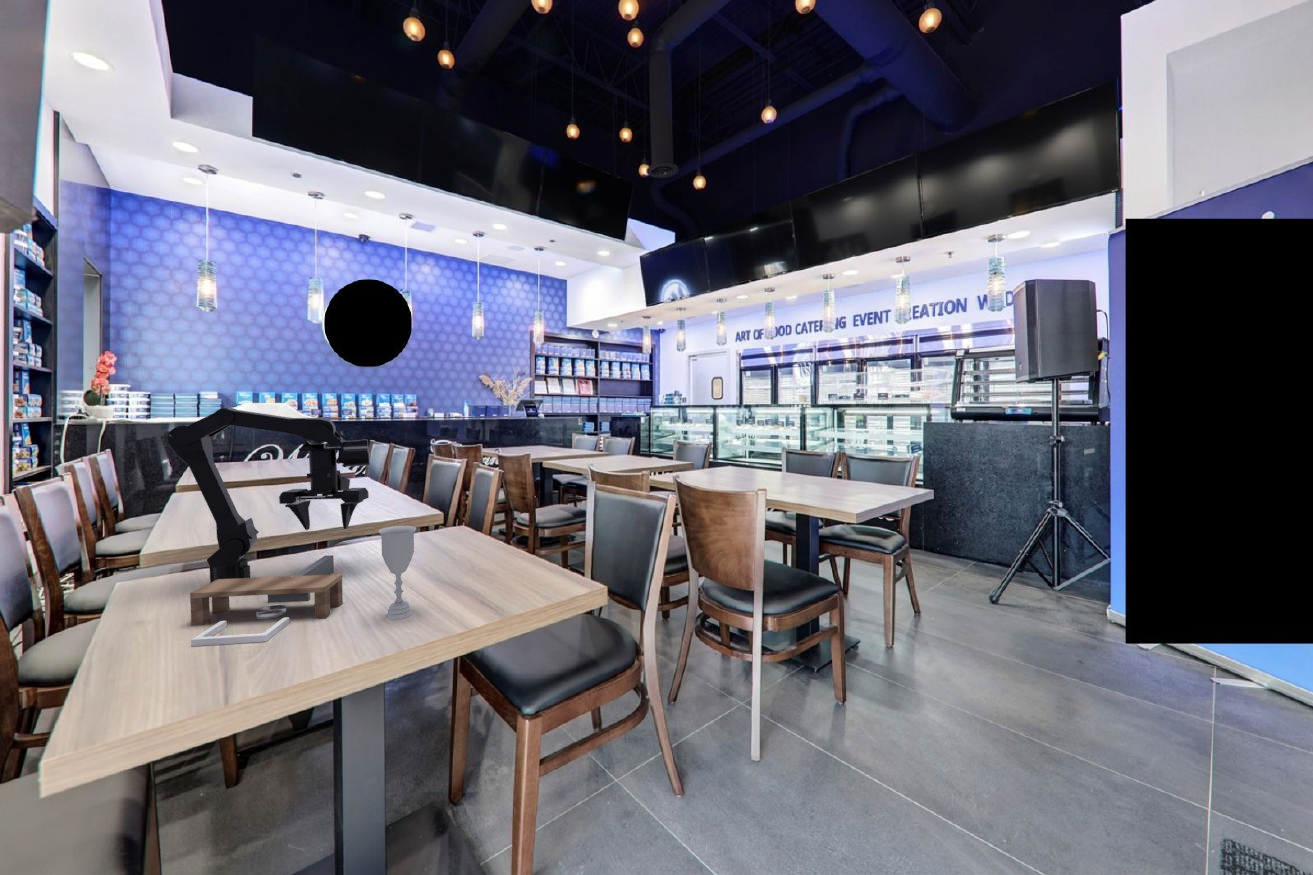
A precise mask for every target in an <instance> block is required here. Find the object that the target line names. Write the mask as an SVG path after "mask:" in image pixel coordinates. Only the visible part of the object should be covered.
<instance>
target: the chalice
mask: <svg viewBox="0 0 1313 875" xmlns="http://www.w3.org/2000/svg"><path fill="white" fill-rule="evenodd" d="M416 531H417V527H416V526H411V525H395V526H387V527H383V528H380V529H379V530H378V534H379V535H380V538H381V557H382V559H383V561H384V564H385V565H386V568H388V570H389V572H390V573H391V574H392V575H395V581H394V585H395V588H396V589H395V591H393V593H394V594H395V597H396V598H395V600H394V602H393V603H391V604H390V606H388V607H389V608H388V609H387V613H386V614H385V618H386V619H387V620H400V619H404V618H407V617H408V618H409V616H411V615H412V614H413V610H412V609H411V606H410V604H409V603H408V601H406V600H403V598H402V594H403V593H404V590H403V588H402V586H403V585H402V584H404V582H403V580H402V574H403V573H405V572H406V571H407V570H408V568H409V566H410V564H411V561H412V558H413V557H414V554H415V553H414V552H415V537H414V536H415V535H414V534H415V532H416Z"/></svg>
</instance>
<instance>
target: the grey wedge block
mask: <svg viewBox="0 0 1313 875" xmlns="http://www.w3.org/2000/svg"><path fill="white" fill-rule="evenodd" d="M334 562H335V561H334V555H331V554H330V555H329V554H328V555H323V556H322V557H320V558H319V559H317V560H315V561H314V562H313V563H311V564H309V565H307V566H306V567H305V568H303V569H302V570H300V571H298V572H297V573H295V574H294V575H293V576H311V575H333V573H334V572H335V571H334V570H335V569H334V568H335V567H334V566H335V564H334ZM310 600H311V593H293V594H271V595H267V603H268V604H271V603H274V604H275V603H288V602H289V603H291V602H292V603H293V602H294V603H295V602H309V601H310Z"/></svg>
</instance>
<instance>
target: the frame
mask: <svg viewBox="0 0 1313 875" xmlns="http://www.w3.org/2000/svg"><path fill="white" fill-rule="evenodd" d="M289 624H290V617H288V616H287V617H286V616H285V617H283V618H281V619H280V620H278V621H277V622H276V623H274V624H273V625H272V626H270V627H269V628H267V630H265V631H264V632H262V633H247V634H246V633H245V634H244V633H243V634H230V635H229V634H228V635H216V634H218V633H220V632H221V631H223V630H225V628H227V627H228V622H227V620H220V621H219V622H217V623H215V624H214V625H212V626H210V627H209V628H207V629H205V630H204V631H203V632H201V633H200V634H198V635H197V636H195V637H193V638H192V639H191V640H190V642H191V643H190V645H191V647H200V646H202V647H203V646H216V645H217V646H219V645H232V644H234V645H236V644H237V645H238V644H249V643H266V642H268V641H269V640H270V639H271V638H272V637H274V636H275V635H277V634H278V633H279V632H280V631H282V630H283V629H284V628H285V627H286V626H288V625H289Z"/></svg>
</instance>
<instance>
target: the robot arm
mask: <svg viewBox="0 0 1313 875" xmlns="http://www.w3.org/2000/svg"><path fill="white" fill-rule="evenodd" d="M230 426H236V427H243V428H250V429H256V430H257V429H258V430H263V431H264V430H266V431H272V432H277V433H278V432H280V433H288V434H291V435H294V436H297V437H299V438H303V439H306V441H305V442H304V444H303V445H302V446H301V447H299V448H298V451H299V452H308V461H309V462H308V464H309V472H308V473H306V478H307V479H309V480H310V484H309V485H310V489H308V488H292V489H288V490H285V491H282V492H281V493H280V495H279V497H278V502H279V504H280V505H281V504H282V505H284V507H285V508H288V509H290V511H291V512H292V513H293V514H294V515H295V516H296V518H297V519H298V521H299V522H300V523H301V525H302V527H303V529H305V531H308V530H310V529H311V528H310V527H311V526H310V525H311V521H310V511H309V510H310V504H311V500H339V499H340V500H342V502H343V503H342V502H341V503H340V512H341V521H342V522H341V523H342V526H343V529H344V530H346V529H348V528H349V525H350V522H351V520H352V517H353V513H354V510H355V509H356V508H357V506H358V504H360V503H362V502H364V500H366V499H369V498H370V497H369V491H368V489H367V488H366V487H350V486H351V485H350V484H351V479H350V478H347V477H344V476H342V475H341V471H340V470H339V469H338V466H337V450H338V463H339V464H341V465H344V467H345V468H346V467H347V468H349V467H364V466H365V467H366V466H371V455H370V454H371V452H370V450H369V440H368V439H358V440H345V439H344V438H343V437H342V436H341V435H340V434H339V433H338V432H337V430H336V428H337V427H336V425H335V423H334V422H333V421H332V420H331V419H329V418H326V417H290V416H289V417H288V416H281V415H275V414H269V413H268V414H267V413H261V412H255V411H248V410H247V411H246V410H241V409H236V408H234V407H223V408H219V409H217V410H216V411H215V412H213V413H211V414H209V415H207V416H205V417H203V418H200V419H198V420H197V421H194V422H192V423H191V424H186V425H179V426H176V427H174V428H172V429H171V430H170V431H169V433H168V434H167V435H166V442H167V444H168V445H169V447H170V448H171V450H172V451H173V452H174V453H175V455H176V456H177V457H178V458H179V459H180V460H181V461H182V462H184V463H185V465H187V467H188V468H189V469H190V471H191V474H192V475H193V479H195V483H196V485H197V486H198V489H199V490H200V492H201V494H202V496H203V499H204V501H205V503H206V505H207V506H208V509H209V511H210V512H211V516H212V518H213V519H214V522H215V524H216V525H215V526H216V527H215V529H216V541H217V544H218V548H219V549H217V550H216V551H215V552H214V553H213V554H211V555H210V556H208V558H207V559H206V562H207V563H208V565H209V566H208V567H209V583H211V582H213V581H215V580H217V579H237V578H251V565H250V564H248V563H249V562H248V558H244V557H245V556H247V553H248V552H249V551H250V550H251V549H252V548H253V547H254V546H255V544H256V543H257V541H258V534H259V532H260V531H259V530H257V528H256V527H255V524H254V520H253V518H251V517H250V518H248V519H246V520H245V519H244V518H243V517H242V516H241V515H240V514H239V512H238V510H237V507H236V506H235V503H234V501H233V500H232V498H231V496H230V493H229V491H228V488H227V487H226V486H227V485H226V484H225V483H224V480H223V478H222V476H221V474H220V472H219V469H218V467H217V465H216V464H215V463H216V462H215V461H214V452H213V451H214V448H213V442H212V437H214V436H215V435H217V434H219V433H221V432H222V431H224V430H226V429H227V428H229V427H230ZM310 441H313V442H317V443H311V442H310ZM322 442H323V443H322ZM326 444H328V445H329V446H327V445H326Z"/></svg>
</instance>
